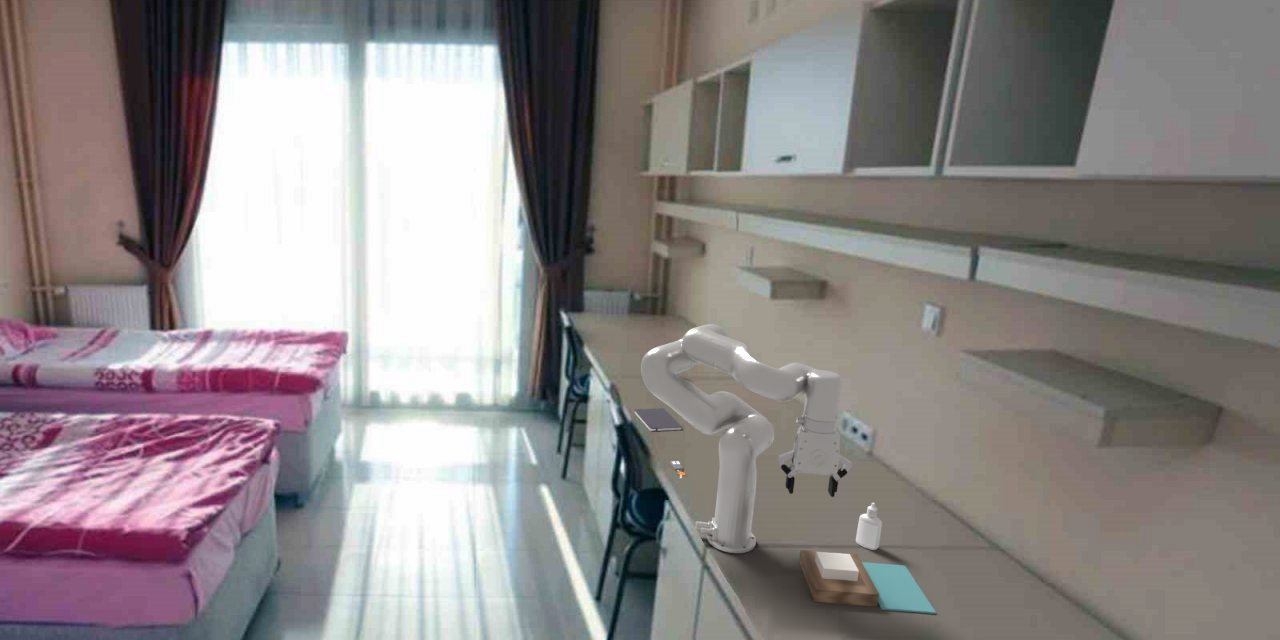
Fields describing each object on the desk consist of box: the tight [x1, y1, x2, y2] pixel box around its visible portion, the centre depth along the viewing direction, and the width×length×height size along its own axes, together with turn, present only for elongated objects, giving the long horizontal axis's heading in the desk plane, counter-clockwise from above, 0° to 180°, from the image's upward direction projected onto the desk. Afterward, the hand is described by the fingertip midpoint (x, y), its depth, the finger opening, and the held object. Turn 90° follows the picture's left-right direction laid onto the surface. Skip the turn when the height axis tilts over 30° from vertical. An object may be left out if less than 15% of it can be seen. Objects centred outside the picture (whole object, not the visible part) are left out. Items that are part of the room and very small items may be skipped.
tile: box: [815, 551, 859, 581], centre depth 149 cm, size 8×7×2 cm
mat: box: [861, 561, 937, 615], centre depth 150 cm, size 12×18×1 cm, turn 179°
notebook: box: [634, 407, 684, 432], centre depth 248 cm, size 13×2×21 cm
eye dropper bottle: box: [855, 502, 883, 551], centre depth 166 cm, size 4×6×12 cm
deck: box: [798, 549, 879, 607], centre depth 150 cm, size 14×16×3 cm
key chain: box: [669, 460, 686, 479], centre depth 204 cm, size 13×4×2 cm, turn 14°
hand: (810, 492), depth 151 cm, fingers open, 9 cm apart
